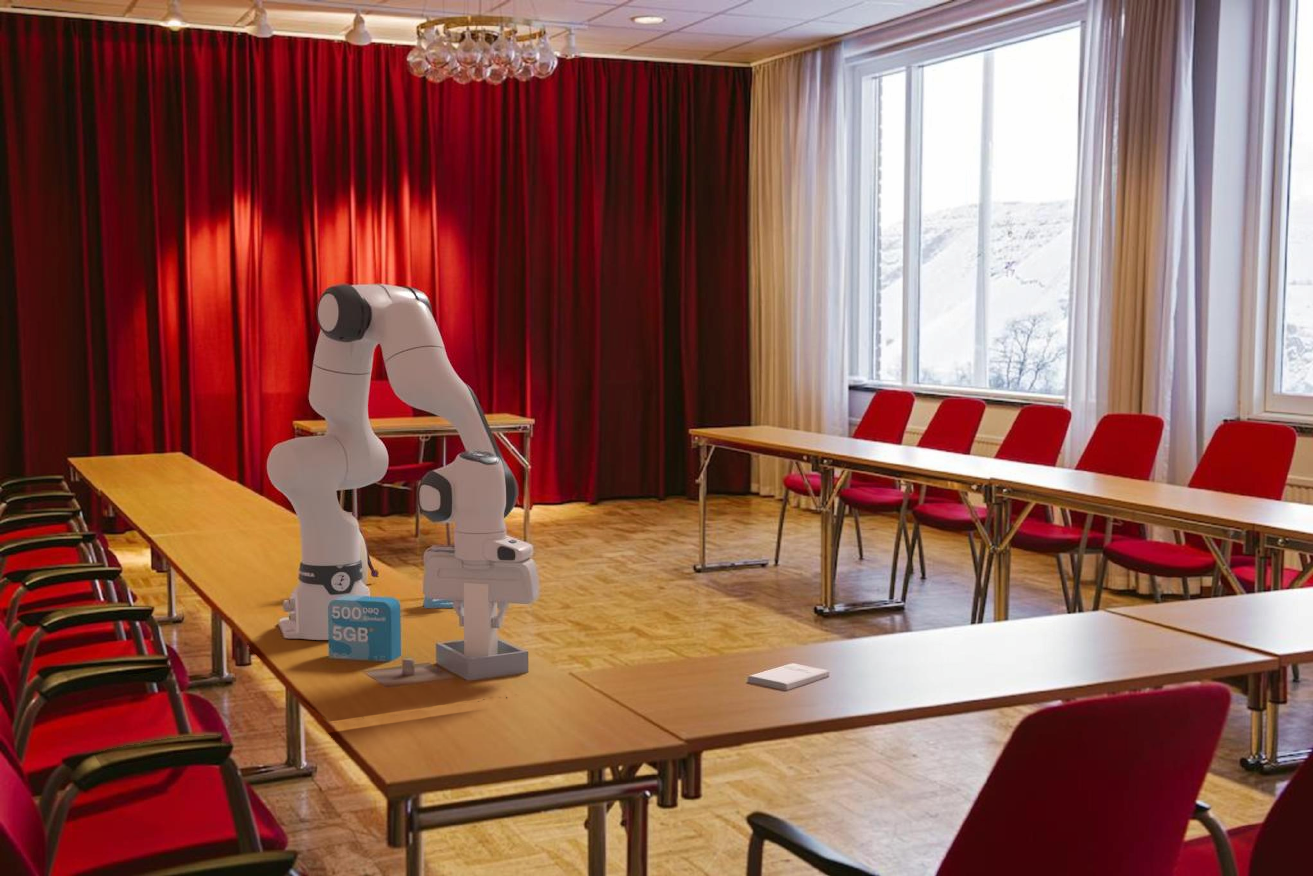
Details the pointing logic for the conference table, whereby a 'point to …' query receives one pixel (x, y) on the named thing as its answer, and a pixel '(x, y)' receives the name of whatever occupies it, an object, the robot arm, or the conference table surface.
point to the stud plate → (404, 680)
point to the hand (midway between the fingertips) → (481, 626)
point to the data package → (364, 628)
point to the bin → (482, 660)
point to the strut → (479, 621)
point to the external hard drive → (788, 676)
